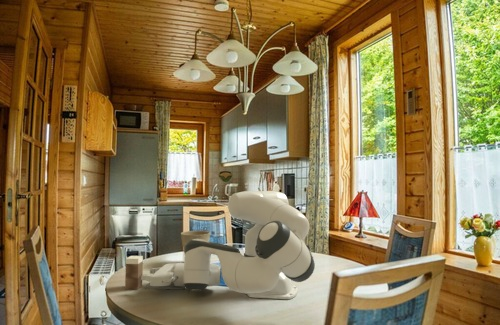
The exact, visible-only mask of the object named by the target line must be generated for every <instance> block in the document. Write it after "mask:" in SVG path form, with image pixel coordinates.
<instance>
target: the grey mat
mask: <svg viewBox="0 0 500 325" xmlns="http://www.w3.org/2000/svg"><path fill="white" fill-rule="evenodd" d="M144 289H150V290H151V289H155V290H156V289H157V290H159V289H160V290H186V289H187V288H186V287H185V286H175V285H174V283H171V284H170V285H168V286H151V285H150V282H148V283H147V285H145V286H144Z"/></svg>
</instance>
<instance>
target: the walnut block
mask: <svg viewBox="0 0 500 325" xmlns="http://www.w3.org/2000/svg"><path fill="white" fill-rule="evenodd" d="M143 265H144V256H143V255H130V256H128V257H126V258H125V275H124V276H125V282H124V285H125V286H124V288H125V289H124V290H127V291H128V290H129V291H130V290H131V291H132V290H134V291H136V290H137V291H138V290H139V289H140V288H142V287H143V280H141V276H142V275H144V272H143V270H144V269H143V268H144V267H143Z"/></svg>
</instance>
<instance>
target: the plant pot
mask: <svg viewBox="0 0 500 325" xmlns="http://www.w3.org/2000/svg"><path fill="white" fill-rule="evenodd" d="M180 237H181V238H180V239H181V244H182V248H183V253H184V254H185V245H186V244H187V243H188V242H189V241H190V240H192V239H203V240H206V241H208V242H210V237H211V232H210V231H207V230H189V231H183V232H180Z"/></svg>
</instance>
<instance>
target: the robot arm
mask: <svg viewBox="0 0 500 325" xmlns="http://www.w3.org/2000/svg"><path fill="white" fill-rule="evenodd" d="M289 202H290V201H289V199H288V197H287V195H286V194H285V193H284V192H280V191H274V190H252V191H251V190H250V191H249V190H245V191H240V192H235V193H232V194H231V196H230V197H229V199H228V203H227V209H228V213H229V214H230V215H231V216H232V218H235V219H239V220H243V221H247V222H250V223H254V225H253V226H252V227H251V228H249V229H248V230H247V231H246V233H245V235H244V253H243V254H242V253H241V252H240V249H239V248H237V247H235V246H231V245H227V244H223V243H218V242H211V241H209V242H208V241H206V240H203V239H192V240H190V241H189V242H188V243H187V244H186V245H185V253H184V261H181V262H175V263H174V262H171V263H166V264H164V265H162V266H161V267H154V268H150V269H149V274H151V275H149V274H142V276H141V280H142V281H145V282H148V283H150V285H151V286H168V285H170V284H171V283H174V285H175V286H185V287H186V288H185V289H187V290H188V291H189V292H192V291H202V292H204V291H205V290H206V289H207V288H208V287H213V286H219V285H220V284H221V279H222V280H223V282H224V283H225V286H226V287H227V288H229V290H231V291H232V292H236V293H239V294H245V295H247V296H248V297H249V298H256V299H257V298H258V299H259V298H260V299H275V300H291V299H293V298H295V297H296V296H297V295H298V293H299V290H298V289H299V288H298V287H297V286H296V285H294V284H293V282H296V283H302V282H304V281H307V280H308V279H309V278H310V277H311V276H312V275H313V273H314V271H315V261H314V256H313V253H312V252H311V247H310V245H307V244H306V242H305V239H306V237H307V235H308V234H309V232H310V222H309V220H308V218H307V216H306V215H304V213H302V212H301V211H300V210H298V209H297V208H295V207H294V206H292V205H290V204H289ZM212 255H213V256H216V257H217V258H218V261H219V264H215V263H214V264H213V263H211V258H212Z"/></svg>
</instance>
